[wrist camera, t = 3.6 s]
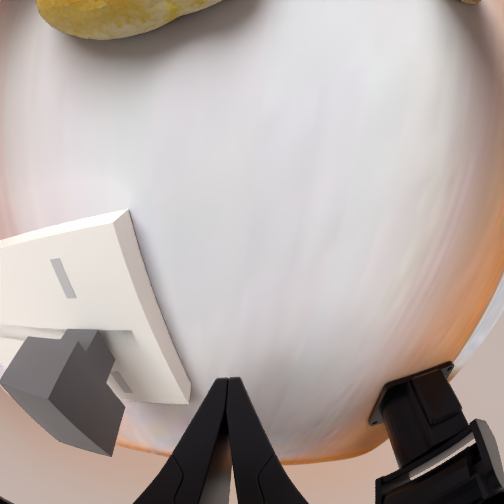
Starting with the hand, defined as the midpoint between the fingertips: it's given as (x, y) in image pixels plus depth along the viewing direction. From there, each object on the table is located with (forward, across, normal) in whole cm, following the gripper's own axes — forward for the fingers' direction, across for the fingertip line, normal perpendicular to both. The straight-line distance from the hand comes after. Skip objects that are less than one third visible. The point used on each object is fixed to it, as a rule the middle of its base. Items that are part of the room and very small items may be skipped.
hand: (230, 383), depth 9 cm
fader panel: (+4, +12, 0) cm, 13 cm away
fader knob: (+2, +7, 0) cm, 7 cm away
